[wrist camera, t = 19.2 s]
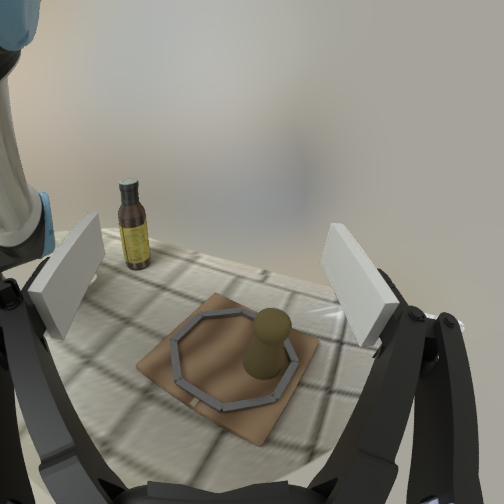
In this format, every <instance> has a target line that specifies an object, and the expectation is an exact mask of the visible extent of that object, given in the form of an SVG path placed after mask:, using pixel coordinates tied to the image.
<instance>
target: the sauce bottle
mask: <svg viewBox="0 0 504 504" xmlns="http://www.w3.org/2000/svg"><path fill="white" fill-rule="evenodd" d="M119 189H120V191H121V202H122V204H121V206H120V208H119V211H118V218H119V229H120V235H121V241H122V247H123V252H124V257H125V260H126V264H127V266H128V267H129V268H130V269H135V270H136V269H142V268H144V267H146V266H147V265H148V264H149V263H150V247H149V240H148V233H147V222H146V214H145V210H144V207H143V206H142V205H141V203H140V202H139V197H138V180H137V179H133V178H132V179H125V180H122V181H120V182H119Z"/></svg>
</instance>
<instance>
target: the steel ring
mask: <svg viewBox="0 0 504 504" xmlns="http://www.w3.org/2000/svg"><path fill="white" fill-rule="evenodd" d="M256 315H257V314H256V313H254V312H252V311H249V310H247V309H245V308H243V309H242V307H241V308H232V309H223V310H213V311H202V312H200V313H197V314H196V315H195V316H194V317H193V318H192V319H191V320H190V321H189V322H188V323H186V324H185V325H184V326H183V327H182V328H181V329H180V330H179V331H178V332H177V333H176V334H175V335H174V336H172V337H171V338H170V340H169V341H170V351H171V360H172V369H173V377H174V383H175V384H176V386H177V387H179V388H180V389H182V390H183V391H185V392H186V393H188V394H189V395H191V396H192V397H194V398H196V399H198V400H199V401H200V402H202V403H204V404H205V405H207V406H209V407H210V408H212V409H214V410H215V411H217V412H219V413H221V411H222V412H223V414H225V413H231V412H237V411H242V410H248V409H253V408H258V407H262V406H267V405H271V404H275V403H276V402H278V400H279V399H280V397H281V395H282V393H283V392H284V390H285V388H286V386H287V385H288V383H289V381H290V379H291V378H292V376H293V374H294V372H295V370H296V369H297V367H298V365H299V359H298V357H297V355H296V353H295V351H294V349H293V347H292V345H291V343H290V340H289V338H287V339H286V340H285V341H284V347H283V349H284V351H285V354H286V356H287V358H288V360H289V362H290V365H289V367H288V369H287V370H286V372H285V374H284V375H283V377H282V379H281V380H280V382H279V384H278V385H277V387H276V389H275V390H274V392H273V394H271V395H267V396H262V397H257V398H252V399H247V400H241V401H235V402H229V403H221V402H220V401H218V400H216V399H215V398H213V397H211V396H210V395H208V394H206V393H205V392H203V391H201V390H200V389H198V388H196V387H195V386H193V385H192V384H190V383H189V382H187V381H186V380H184V379H183V378H182V375H181V368H180V361H179V353H178V344H179V343H180V342H181V341H182V340H183V339H184V338H185V337H186V336H187V335H188V334H189V333H190V332H191V331H192V330H193V329H194V328H195V327H196V326H197V325H198V324H199V323H200V322H202V321H203V320H210V319H220V318H229V317H238V316H242V317H244V318H246V319H248V320H250V321H253V320H254V318H255V316H256Z"/></svg>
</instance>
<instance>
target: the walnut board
mask: <svg viewBox="0 0 504 504" xmlns="http://www.w3.org/2000/svg"><path fill="white" fill-rule="evenodd" d="M241 307H242V309H243V308H245V309H247V310H249V311H252V312H254V313H256V314H258V313H257V312H255V311H253V310H251V309H249V308H247V307H244V306H242V305H240V304H238V303H236V302H234V301H232V300H230V299H228V298H226V297H224V296H222V295H220V294H218V293H216V292H215V293H214V294H213V295H212V296H211V297H210V298H209V299H208V300H206V301H205V302H204V303H203V304H202V305H201V306H200V307H199V308H198V309H197V310H196V311H194V312H193V313H192V314H191V315H190V316H189V317H188V318H187V319H186V320H185V321H184V322H182V323H181V324H180V325H179V326H178V327H177V328H176V329H175V330H174V331H173V332H172V333H170V334H169V335H168V336H167V337H166V338H165V339H164V340H163V341H162V342H161V343H159V344H158V345H157V346H156V347H155V348H154V349H153V350H152V351H151V352H150V353H149V354H147V355H146V356H145V357H144V358H143V359H142V360H141V361H140V362H139V363H138V364H136V367H137V369H138V370H139V371H140V372H141V373H143V374H144V375H145V376H147V377H148V378H149V379H150V380H152V381H153V382H154V383H156V384H157V385H158V386H160V387H161V388H163V389H164V390H165V391H167V392H168V393H170V394H171V395H172V396H174V397H175V398H177V399H178V400H180V401H181V402H183V403H184V404H186V405H187V406H189V407H190V408H192V409H193V410H195V411H196V412H198V413H200V414H201V415H203V416H204V417H206V418H208V419H209V420H211V421H213V422H214V423H216V424H218V425H220V426H221V427H223V428H225V429H227V430H228V431H230V432H232V433H234V434H236V435H238V436H239V437H241V438H243V439H245V440H247V441H249V442H251V443H253V444H255V445H257V446H259V447H261V446H262V444H263V442H264V441H265V439H266V438H267V436H268V434H269V433H270V431H271V430H272V428H273V426H274V425H275V423H276V421H277V420H278V418H279V416H280V414H281V413H282V411H283V409H284V408H285V406H286V404H287V402H288V400H289V399H290V397H291V395H292V393H293V391H294V390H295V388H296V386H297V384H298V382H299V380H300V378H301V376H302V375H303V373H304V371H305V369H306V367H307V365H308V363H309V361H310V359H311V357H312V355H313V353H314V351H315V349H316V347H317V345H318V342H319V340H318V339H315V338H313V337H311V336H308V335H306V334H304V333H301V332H299V331H297V330H295V329H292V330H291V333H290V335H289V337H288V338H289V340H290V343H291V345H292V347H293V349H294V351H295V353H296V355H297V357H298V359H299V365H298V367H297V369H296V370H295V372H294V374H293V376H292V378H291V379H290V381H289V383H288V385H287V386H286V388H285V390H284V392H283V393H282V395H281V397H280V399H279V400H278V402H276V403H275V404H271V405H267V406H262V407H258V408H253V409H248V410H242V411H237V412H231V413H225V414H223V412H222V411H221V413H219V412H217V411H215V410H214V409H212V408H210V407H209V406H207V405H205V404H204V403H202V402H200V401H199V400H198V399H196V398H194V397H192V396H191V395H189V394H188V393H186V392H185V391H183V390H182V389H180V388H179V387H177V386H176V384H175V383H174V377H173V369H172V360H171V351H170V341H169V340H170V338H171V337H172V336H174V335H175V334H176V333H177V332H178V331H179V330H180V329H181V328H182V327H183V326H184V325H185V324H186V323H188V322H189V321H190V320H191V319H192V318H193V317H194V316H195V315H196V314H197V313H200V312H202V311H213V310H223V309H232V308H241ZM252 326H253V321H250V320H248V319H246V318H244V317H242V316H238V317H229V318H220V319H210V320H203V321H202V322H200V323H199V324H198V325H197V326H196V327H195V328H194V329H193V330H192V331H191V332H190V333H189V334H188V335H187V336H186V337H185V338H184V339H183V340H182V341H181V342H180V343H179V344H178V353H179V361H180V368H181V375H182V378H183V379H184V380H186V381H187V382H189V383H190V384H192V385H193V386H195V387H196V388H198V389H200V390H201V391H203V392H205V393H206V394H208V395H210V396H211V397H213V398H215V399H216V400H218V401H220V402H221V403H229V402H235V401H241V400H247V399H252V398H257V397H262V396H267V395H271V394H273V392H274V390H275V389H276V387H277V385H278V384H279V382H280V380H281V379H282V377H283V375H284V374H285V372H286V370H287V369H288V367H289V365H290V362H289V360H288V358H287V356H286V354H285V351H284V349H283V356H282V364H281V370H280V372H279V374H278V375H276V376H275V377H274V378H271V379H268V380H260V379H256V378H254V377H251V376H250V375H249V374H248V373H247V372H246V370H245V369H244V365H243V361H244V357H245V355H246V353H247V350H248V348H249V345H250V343H251V341H252V338H253V336H254V332H253V328H252Z"/></svg>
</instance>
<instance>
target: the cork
mask: <svg viewBox="0 0 504 504" xmlns="http://www.w3.org/2000/svg"><path fill="white" fill-rule="evenodd" d="M252 328H253V332H254V336H253V338H252V341H251V343H250V345H249V348H248V350H247V353H246V355H245V357H244V361H243V365H244V369H245V370H246V372H247V373H248V374H249V375H250V376H251V377H254V378H256V379H260V380H268V379H271V378H274V377H275V376H276V375H278V374H279V372H280V370H281V364H282V356H283V347H284V341H285V340H286V339H287V338H288V337H289V335H290V333H291V330H292V323H291V320H290V318H289V316H288V315H287V314H286V313H285V312H283V311H282V310H279V309H276V308H267V309H264V310H262V311H260V312H259V313H258V314H257V315H256V316H255V318H254V320H253V326H252Z"/></svg>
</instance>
